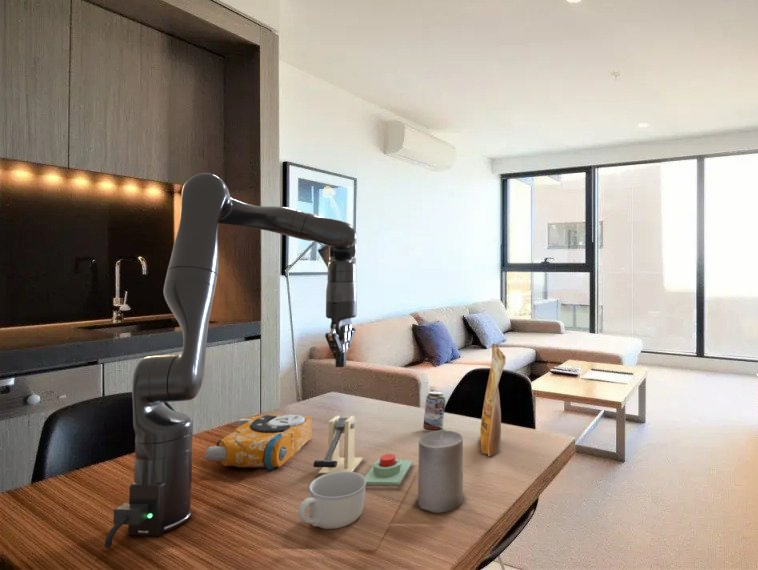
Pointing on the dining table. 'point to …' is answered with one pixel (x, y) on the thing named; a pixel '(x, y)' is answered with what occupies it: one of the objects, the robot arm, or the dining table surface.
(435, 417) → the beverage can
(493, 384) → the pancake mix bag
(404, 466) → the button block
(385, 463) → the button
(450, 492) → the pillar candle
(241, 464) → the device
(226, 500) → the dining table surface
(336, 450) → the lever bracket
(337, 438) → the press lever
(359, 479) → the teacup
